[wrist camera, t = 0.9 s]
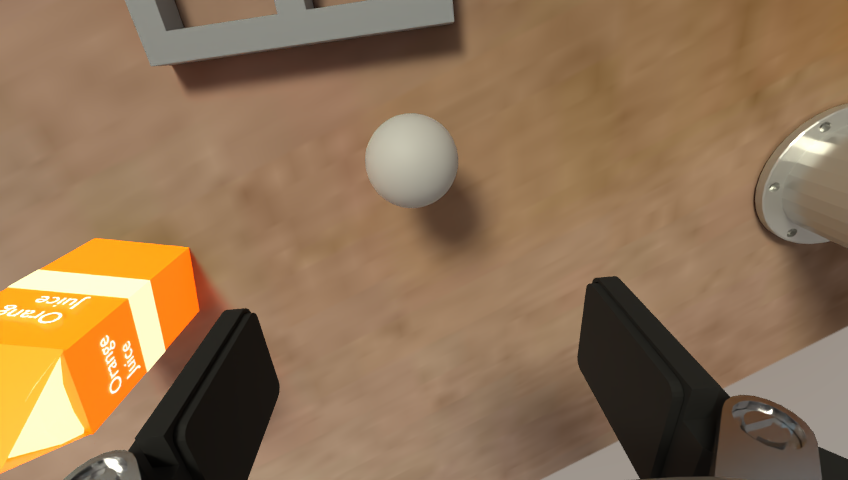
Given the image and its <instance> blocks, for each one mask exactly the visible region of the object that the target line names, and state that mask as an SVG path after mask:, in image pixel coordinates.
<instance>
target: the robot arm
mask: <svg viewBox="0 0 848 480" xmlns="http://www.w3.org/2000/svg"><path fill="white" fill-rule="evenodd" d="M755 205H756V212H757V214H758V217H759V219H760V221H761V223H762V224H763V225H764V226H765V228H766V229H767V230H769V231H770V232H772V233H773V234H775V235H776V236H778V237H780V238H782V239H784V240H786V241H790V242H794V243H798V244H817V243H825V242H829V241H832V242H834V243H837V244H839V245H841V246H843V247H845V248H847V249H848V103H846V104H843V105H840V106H836V107H833V108H831V109H829V110H826V111H824V112H822V113H820V114H818V115H816V116H814V117H813V118H811V119H810V120H808V121H807V122H805V123H803V124H802V125H801V126H799V127H798V128H797V129H796V130H795V131H793V132H792V133H791V134H790V135H789V136H788V137H787V138H786V139H785V140H784V141H783V142H782V143H781V144H780V145H779V146H778V147H777V148H776V150H775V151H774V153H773V154H772V155H771V157H770V158H769V160H768V161H767V163H766V165H765V167H764V169H763V171H762V173H761V175H760V178H759V181H758V184H757V187H756V195H755ZM578 365H579V368H580V370H581V372H582V374H583V375H584V377H585V379H586V381H587V383H588V385H589V386H590V388H591V390H592V392H593V394H594V396H595V397H596V399H597V401H598V403H599V405H600V407H601V408H602V410H603V412H604V414H605V416H606V418H607V419H608V421H609V423H610V425H611V427H612V428H613V430H614V432H615V434H616V436H617V438H618V439H619V441H620V443H621V445H622V446H623V448H624V450H625V452H626V454H627V456H628V458H629V459H630V461H631V463H632V465H633V467H634V469H635V471H636V472H637V474H638V476H639V478H640V479H639V480H848V459H846V458H844V457H841V456H839V455H837V454H834V453H832V452H829V451H827V450H825V449H823V448H820V447H818V443H817V440H816V437H815V434H814V433H813V431H812V430H811V429H810V427H809V426H808V425H807V424H806V423H805V422H804V421H803V420H802V419H801V418H799V417H798V416H797V415H796V414H794V413H793V412H791V411H790V410H788V409H786V408H785V407H783V406H782V405H779V404H777V403H775V402H772V401H770V400H767V399H763V398H760V397H756V396H750V395H738V396H732V397H730V396H729V395H728V394H727V393H726V392H725V391H724V390H723V389H722V388H721V386H720V385H719V384H718V383H717V382H716V381H715V380H714V379H713V378H712V377H711V376H710V375H709V374H708V373H707V372H706V370H705V369H704V368H703V367H702V366H701V365H700V364H699V363H698V362H697V361H696V360H695V359H694V358H693V357H692V356H691V354H690V353H689V352H688V351H687V350H686V349H685V348H684V347H683V346H682V345H681V344H680V343H679V342H678V341H677V340H676V338H675V337H674V336H673V335H672V334H671V333H670V332H669V331H668V330H667V329H666V328H665V327H664V326H663V325H662V324H661V322H660V321H659V320H658V319H657V318H656V317H655V316H654V315H653V314H652V313H651V312H650V311H649V310H648V309H647V308H646V306H645V305H644V304H643V303H642V302H641V301H640V300H639V299H638V298H637V297H636V296H635V295H634V294H633V293H632V292H631V290H630V289H629V288H628V287H627V286H626V285H625V284H624V283H623V282H622V281H621V280H620V279H619V278H618V277H616V276H613V277H601V278H595V279H594V280H593V282H592V283H591V284H588V285H587V288H586V295H585V302H584V310H583V318H582V325H581V333H580V341H579V349H578ZM278 395H279V381H278V378H277V375H276V372H275V369H274V366H273V363H272V360H271V357H270V354H269V351H268V348H267V345H266V342H265V338H264V335H263V332H262V329H261V326H260V323H259V320H258V317H257V315H256V314H255V313H251V312H250V311H249V309H246V308H245V309H233V310H226V311H224V312H223V313H222V314H221V316H220V317H219V319H218V320H217V322H216V323H215V324H214V326H213V327H212V329H211V330H210V332H209V333H208V334H207V336H206V337H205V339H204V340H203V342H202V343H201V344H200V346H199V347H198V349H197V350H196V352H195V353H194V354H193V356H192V357H191V359H190V360H189V362H188V363H187V364H186V366H185V367H184V369H183V370H182V372H181V373H180V374H179V376H178V377H177V379H176V380H175V382H174V383H173V384H172V386H171V387H170V389H169V390H168V392H167V393H166V394H165V396H164V397H163V399H162V400H161V402H160V403H159V404H158V406H157V407H156V409H155V410H154V412H153V413H152V414H151V416H150V417H149V419H148V420H147V422H146V423H145V424H144V426H143V427H142V429H141V430H140V432H139V433H138V434H137V436H136V437H135V442H134V443H133V445H132V446H131V448H130V449H129V450H128V451H126V450H114V451H110V452H107V453H103V454H101V455H99V456H96V457H94V458H92V459H90V460H88V461H87V462H85V463H84V464H82V465H81V466H79V467H77V468H76V469H75V470H74V471H73V472H71V473H70V474H69V475H68V476H67V477H66V478H64V480H248V477H249V474H250V471H251V469H252V466H253V463H254V461H255V458H256V455H257V453H258V450H259V447H260V444H261V442H262V439H263V436H264V434H265V431H266V428H267V425H268V423H269V420H270V417H271V415H272V412H273V409H274V407H275V404H276V401H277V398H278Z"/></svg>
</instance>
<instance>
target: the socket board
mask: <svg viewBox="0 0 848 480" xmlns="http://www.w3.org/2000/svg"><path fill="white" fill-rule="evenodd" d="M125 2H126V5H127V7H128V10H129V12H130V15H131V17H132V20H133V22H134V25H135V27H136V30H137V32H138V35H139V37H140V40H141V42H142V45H143V47H144V50H145V52H146V55H147V57H148V60H149V62H150V65H151V66H166V65H176V64H183V63H190V62H197V61H203V60H210V59H217V58H224V57H231V56H237V55H244V54H251V53H258V52H265V51H271V50H278V49H285V48H292V47H299V46H305V45H312V44H319V43H326V42H332V41H339V40H346V39H353V38H360V37H366V36H373V35H380V34H387V33H394V32H400V31H407V30H414V29H421V28H428V27H434V26H441V25H448V24H452V23H453V22H454V12H453V0H367V1H361V2H354V3H348V4H341V5H335V6H328V7H321V8H315V9H314V6H313V1H312V0H274V2H275V6H276V10H277V14H275V15H269V16H262V17H256V18H249V19H242V20H236V21H229V22H223V23H216V24H209V25H203V26H196V27H190V28H184V26H183V24H182V21H181V18H180V15H179V12H178V9H177V6H176V4H175V1H174V0H125Z"/></svg>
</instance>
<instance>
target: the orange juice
mask: <svg viewBox="0 0 848 480" xmlns="http://www.w3.org/2000/svg"><path fill="white" fill-rule="evenodd" d="M198 312H199V306H198V300H197V294H196V288H195V282H194V276H193V269H192V263H191V257H190V251H189V247H179V246H169V245H159V244H149V243H139V242H129V241H119V240H109V239H99V238H94V239H93V240H91V241H89V242H87V243H86V244H84V245H82V246H80V247H79V248H77V249H75V250H73V251H72V252H70V253H68V254H66V255H65V256H63V257H61V258H59V259H57V260H56V261H54V262H52V263H50V264H49V265H47V266H45V267H43V268H42V269H40V270H37V271H35V272H33V273H31V274H30V275H28V276H26V277H24V278H23V279H21V280H19V281H17V282H15V283H14V284H12V285H10V286H8V288H6V289H5V290H3V291H1V292H0V473H2V472H5V471H7V470H9V469H12V468H14V467H16V466H18V465H21V464H23V463H25V462H28V461H30V460H32V459H34V458H37V457H39V456H41V455H43V454H46V453H48V452H50V451H53V450H55V449H57V448H59V447H62V446H64V445H66V444H68V443H71V442H73V441H75V440H78V439H80V438H82V437H84V436H87V435H89V434H94V433H95V432H96V430H97V429H98V428H99V427H100V426H101V425H102V423H103V422H104V421H105V420H106V419H107V418H108V416H109V415H110V414H111V413H112V412H113V411H114V409H115V408H116V407H117V406H118V405H119V404H120V402H121V401H122V400H123V399H124V398H125V397H126V395H127V394H128V393H129V392H130V391H131V390H132V388H133V387H134V386H135V385H136V384H137V383H138V382H139V380H140V379H141V378H142V377H143V376H144V375H145V373H146V372H148V371H149V370H150V369H151V367H152V366H153V365H154V364H155V363H156V362H157V360H158V359H159V358H160V357H161V356H162V355H163V353H164V352H165V351H166V349H167V348H168V347H169V345H170V344H171V343H172V342H173V341H174V340H175V339H176V337H177V336H178V335H179V334H180V333H181V332H182V330H183V329H184V328H185V327H186V326H187V325H188V323H189V322H190V321H191V320H192V319H193V318H194V316H195V315H196V314H197V313H198Z"/></svg>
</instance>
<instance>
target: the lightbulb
mask: <svg viewBox="0 0 848 480" xmlns="http://www.w3.org/2000/svg"><path fill="white" fill-rule="evenodd" d="M365 164H366V171H367V174H368V178H369V180H370V182H371V184H372V186H373V187H374V189H375V190H376V191H377V193H378V194H379V195H381V196H382V197H383V198H384V199H385V200H387V201H389V202H390V203H392V204H395V205H397V206H400V207H405V208H419V207H424V206H427V205H429V204H432V203H434V202H435V201H437V200H439V199H440V198H441V197H442V196H443V195H444V194H445V193H446V192H447V191H448V190H449V188H450V187H451V185H452V183H453V181H454V179H455V177H456V173H457V169H458V153H457V148H456V146H455V143H454V141H453V138H452V137H451V135H450V134H449V132H448V131H447V129H446V128H445V127H444V126H443V125H442V124H440V123H439V122H437V121H436V120H434V119H433V118H430V117H428V116H425V115H421V114H416V113H411V114H402V115H397V116H395V117H393V118H391V119H388V120H387V121H386V122H384V123H383V124H382V125H380V126H379V128H378V129H377V130H376V131H375V132H374V134H373V136H372V137H371V139H370V141H369V143H368V146H367V149H366V156H365Z"/></svg>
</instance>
